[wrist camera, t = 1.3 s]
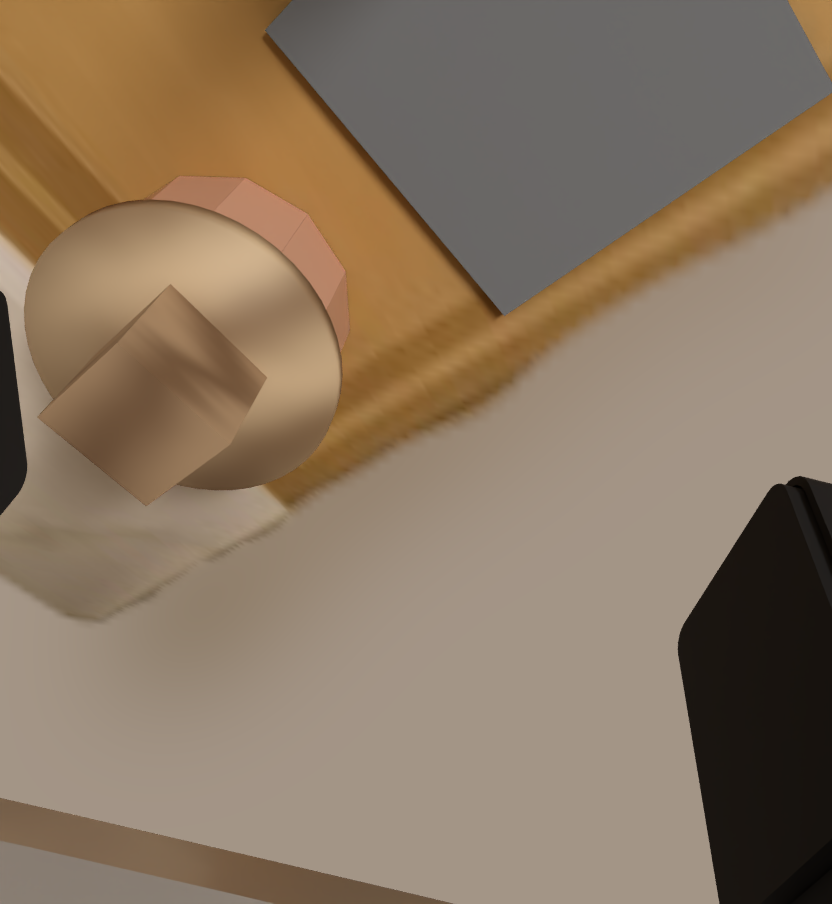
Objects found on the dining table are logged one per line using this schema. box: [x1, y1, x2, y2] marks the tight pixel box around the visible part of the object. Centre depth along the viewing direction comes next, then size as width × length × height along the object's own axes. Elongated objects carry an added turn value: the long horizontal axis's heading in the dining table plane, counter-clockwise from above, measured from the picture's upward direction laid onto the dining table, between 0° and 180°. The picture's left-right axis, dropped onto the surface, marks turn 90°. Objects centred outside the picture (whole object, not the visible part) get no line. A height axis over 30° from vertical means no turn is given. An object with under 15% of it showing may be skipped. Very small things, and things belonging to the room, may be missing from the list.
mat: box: [265, 0, 832, 316], centre depth 32 cm, size 16×16×1 cm
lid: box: [24, 199, 342, 506], centre depth 33 cm, size 14×14×6 cm
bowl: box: [144, 176, 350, 352], centre depth 38 cm, size 12×12×6 cm
